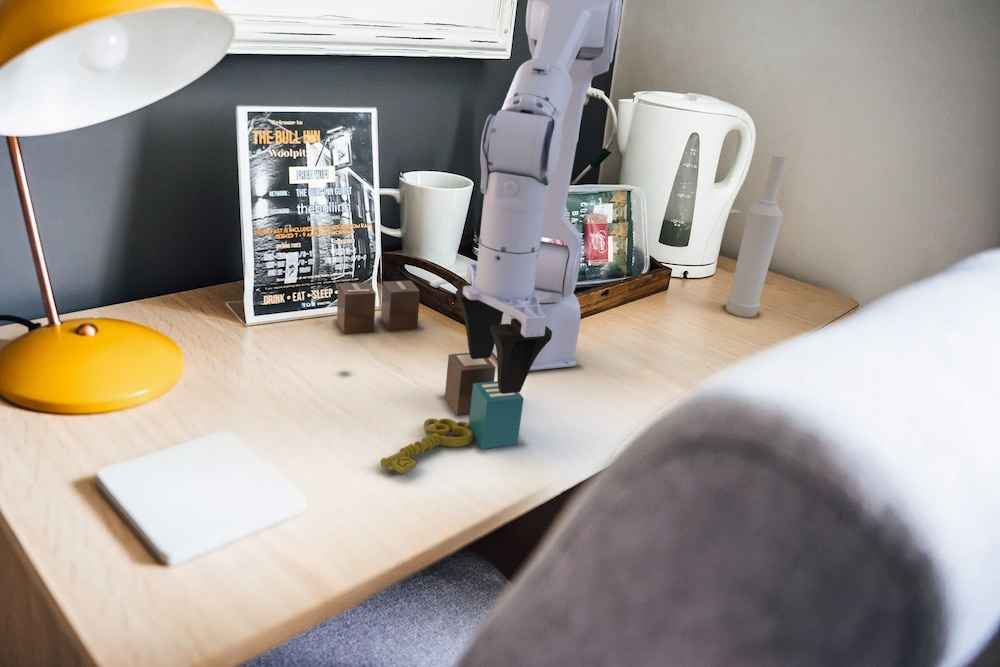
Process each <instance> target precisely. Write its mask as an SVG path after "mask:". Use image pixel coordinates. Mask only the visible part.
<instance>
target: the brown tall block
mask: <svg viewBox="0 0 1000 667" xmlns="http://www.w3.org/2000/svg"><path fill="white" fill-rule="evenodd" d="M496 368H497V367H496V366H495V365H494V363H493V362H492V361H491V360H490V358H482V359H472V358H471V357H470V353H469V352H461V353H448V357H447V367H446V370H447V371H446V379H445V388H444V389H445V390H444V399H445V401H446V402H447V403H448V405H449V406H450V408H451V409H452V410H453V412H454V413H455V414H456V416H463V415H470V408H471V399H472V389H473V384H474V383H484V382H494V381H495V375H496Z"/></svg>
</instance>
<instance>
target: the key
mask: <svg viewBox="0 0 1000 667" xmlns="http://www.w3.org/2000/svg"><path fill="white" fill-rule="evenodd" d="M430 425H432V427H431V428H430V427H429V426H430ZM423 430H424V433H425V434H426V435H428V436H425V437H423V438H422V439H421V441H420V440H417V441H415V442H414V443H409V444H408V445H406V446H404V447H401V448H400V449H399V451H398V452H397V453H395V454H393V455H390V456H388V457H383V458H381V459H380V466H381V468H382V470H389V469H390V468H392V469H393V470H395V471H396V472H398V473H400V474H403V473H406V472H408V471H410V470H412V469H413V468H416V467H417V465H418V464H417V463H418V462H416V461H415V460H413V458H415V457H417V456H418V455H421V454H423V453H424V452H425V450H426V451H430V450H432V449H434V448H435V447H438V446H439V445H440V446H443V447H452V448H453V447H456V448H457V447H465V446H467V445H469V444H471V443H472V442H473V439H474V437H473V433H472V431H471V430H469V422H466V421H457V422H456V420H453V419H450V418H441V419H437V418H427V419H425V420H424V421H423ZM451 432H452V435H453V436H448V435H449V434H450V433H451Z"/></svg>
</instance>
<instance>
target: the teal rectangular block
mask: <svg viewBox="0 0 1000 667" xmlns="http://www.w3.org/2000/svg"><path fill="white" fill-rule="evenodd" d="M524 399H525V398H524V397H523V395H522V393H521V392H516V393H506V394H502V393H501V392H500V391H499V388H498V381H497V380H494V382H484V383H474V384H473V389H472V399H471V408H470V414H469V417H468V418H469V420H468V424H469V430H471V431H472V433H473V439H474V440H475V441H476V443H477V444H478V446H479V447H480V449H481V450H486V449H494V448H502V447H509V446H515V445H518V442H519V436H520V427H521V421H522V415H523V414H522V412H523V406H524Z"/></svg>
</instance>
